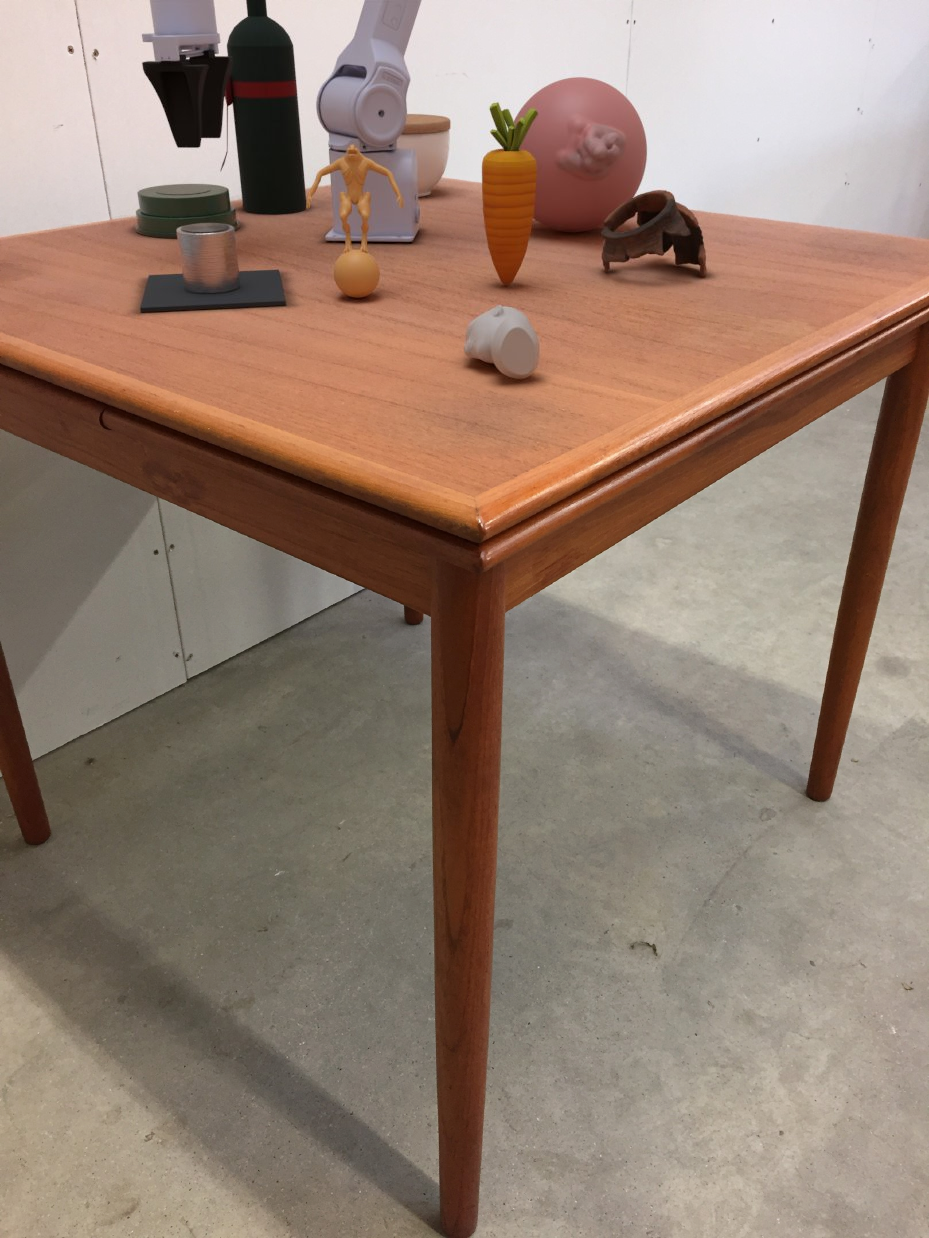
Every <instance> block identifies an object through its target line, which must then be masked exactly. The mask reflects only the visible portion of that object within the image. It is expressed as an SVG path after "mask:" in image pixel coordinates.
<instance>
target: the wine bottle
mask: <svg viewBox="0 0 929 1238" xmlns="http://www.w3.org/2000/svg"><path fill="white" fill-rule="evenodd" d="M245 3H246V12H247V13H246V14H247V16H246V17H244V18H243V19H241V20H240V21H239V22H238V23H237V24H236V25H235V26H234V27H233V28H232V30H231V32H230V33H229V35H228V39H227V43H226V49H227V50H226V51H227V52H226V53H227V56H231V57H232V58H233V65H232V68H231V71H230V74H229V77H228V81H227V85H226V90H225V96H224V101H225V103H226V152H225V155H224V158H223V161H222V164H221V167H220V170H219V172H222V170H223V168H224V166H225V163H226V159H227V157H228V156H227V155H228V153H229V151H228V149H229V147H228V146H229V145H228V144H229V143H228V142H229V141H228V139H229V138H228V137H229V123H228V122H229V107H230V106H231V105H232V113H233V121H234V122H233V123H234V132H235V140H236V141H235V142H236V152H237V161H238V171H239V179H240V180H239V181H240V191H241V202H242V210H243V211H245V212H247V213H249V214H250V213H251V214H259V215H280V214H281V215H283V214H284V215H285V214H292V213H298V212H303V211H305V210H307V208H306V203H307V194H306V193H307V192H306V182H305V169H304V168H305V167H304V159H303V145H302V135H301V123H300V122H301V121H300V120H301V119H300V109H299V98H298V97H299V96H298V87H297V73H296V63H295V50H294V44H293V41H292V39H291V37H290V35H289V32H287V31H286V29H285V28H284V27H283V26H282V25H281V24H280V23H278V22H277V21H276V20H274V19H273V18H271V17H269V16H268V9H267V0H245Z"/></svg>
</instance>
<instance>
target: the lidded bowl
mask: <svg viewBox="0 0 929 1238" xmlns="http://www.w3.org/2000/svg"><path fill="white" fill-rule="evenodd" d="M406 105H407V103H406ZM407 106H408V105H407ZM450 130H451V119H450V118H449V117H447V116H443V115H435V114H422V113H421V114H420V113H407V119H406V124H405V127H404V130H403V132H402V134H401V135H400V137H399V138H398V139H397V148H399V149H412V150H415V152H416V157H417V173H418V198H421V197H426V196H429V195H431V194H432V190H433V189H434V188H435V186H437V184H438V183H439V182H440V181H441V179H442V178H443V175H444V173H445V171H446V168H447V165H448V160H449V155H450V154H449V152H450Z"/></svg>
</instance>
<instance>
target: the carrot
mask: <svg viewBox="0 0 929 1238" xmlns="http://www.w3.org/2000/svg"><path fill="white" fill-rule="evenodd" d="M489 112H490V115H491V118H492V121H493V123H494V125H495V129H493V128H492V129H491V130H490V131H489V133H490V134H491V135H492V137H493V138H494V140H496V142H497V143H498V144H499V145H500V147H502V148H497V149H493V150H490V151H489V152H487V153H486V154H485V155H484V156H483V158H482V163H481V194H482V195H481V196H482V215H483V222H484V230H485V236H486V242H487V247H488V252H489V255H490V258H491V260H492V265H493V267H494V269H495V271H496V273H497V276H498V278H499V281H500V283H502V284H503V285H504V287H509V286H510V285H511V284H512V283H513V282H514V280H515V278H516V276H517V274H518V272H519V270H520V269H521V266H522V264H523V261H524V259H525V256H526V253H527V249H528V245H529V241H530V236H531V231H532V227H533V221H534V219H533V216H534V205H535V194H536V177H537V164H536V160H535V158H534V157H533V156H532V155H531V154H530V153H529V152H528V151H526V150H523V149H519V148H520V146H521V144H522V142H523V140H524V138H525V136H526V134H527V132H528V130H529V128H530V126H531V124H532V122H533V121H534V119H535V118H536V116H537V115H538V112H537V111H536V110H535V109H533V108H531V109H530V110H529V111H528V112H527V114H526V115H525V117H524V119H523V118H522V117H521V118H520V119H519V120H518V122H517V124H516V128H515V124H514V119H513V116H512V114H511V111H510V110H509V108H505V109H502V108H501V106H500V102H499V101H497V102H492V103H491V104H490V106H489Z"/></svg>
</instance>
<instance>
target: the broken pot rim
mask: <svg viewBox="0 0 929 1238" xmlns="http://www.w3.org/2000/svg"><path fill="white" fill-rule="evenodd" d="M635 216H636V224H637V227H636V228H633V229H629V230H626V231H622V232H621V231H619V232H616V230H618V228H619V227H621V226H622V225H623V224H625V223H626V222H627V221H629V220H630V219H632V218H634V217H635ZM603 224H604V225H603V226H604V228H603V229H602V231H601V232H600V234H601V236H602V237H603V243H602V249H601V250H602V251H601V260H602V266H603V268H604V271H605V272H607V273H608V272H610V270H611V263H627V262H629V260H630V259H631V260H635V259H640V258H641V257H643V256H646V255H657V256H660V257H663V256H664V255H665V254H666V253H667V252H669V251H670V250H671V248H673V249H672V250H673V253H674V263H675V266H681V265H693V266H699V273H700V274H699V275H700V277H701V278H704V277H706V276H707V272H708V271H707V270H708V269H707V265H706V264H707V262H706V261H707V255H706V253H707V252H706V251H707V250H706V248H705V242H704V236H703V230H702V229H701V227H700V226H699V220H698V218H697V217H696V216H695V214H694V212H693V211H692V210H690V209H689V208H688V207H687V206H685V205H684V204H681V203H679V202H677V201H676V197H675V195H674V194H673V193H672V192H670V191H668V190H667V189H656V190H655V189H654V190H650V191H647V192H643V193H640V194H637V195H635V196H634V197H633V198H631V199H629V200H627V201H626V202H624V203H623V204H621V205H620V206H619V207H617V208H616V209H615V210H614V211H613V212H612V213H611V214H610V215H609V216H608V217H607V218H606V219H605V221H604V223H603Z"/></svg>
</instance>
